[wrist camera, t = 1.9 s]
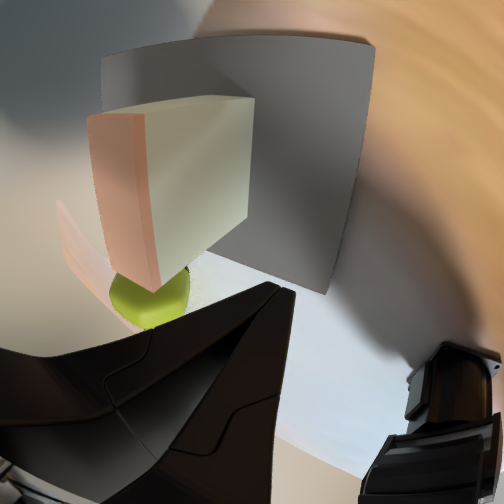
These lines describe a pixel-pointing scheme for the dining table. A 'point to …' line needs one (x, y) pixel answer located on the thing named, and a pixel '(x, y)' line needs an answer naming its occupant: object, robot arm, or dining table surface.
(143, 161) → the slab
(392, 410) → the dining table surface
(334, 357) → the dining table surface
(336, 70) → the mat
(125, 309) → the dumbbell
